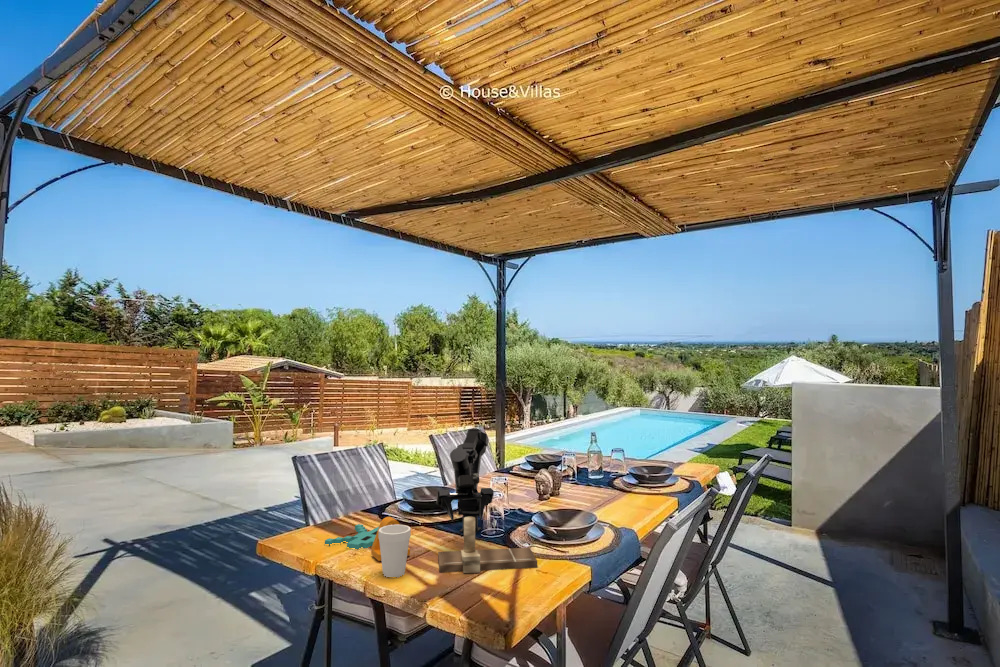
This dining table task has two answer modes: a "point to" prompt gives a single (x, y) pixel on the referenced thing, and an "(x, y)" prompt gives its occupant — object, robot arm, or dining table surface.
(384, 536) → the foam cup
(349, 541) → the alien figure
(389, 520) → the bracket
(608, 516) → the dining table surface
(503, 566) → the walnut board
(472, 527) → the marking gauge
